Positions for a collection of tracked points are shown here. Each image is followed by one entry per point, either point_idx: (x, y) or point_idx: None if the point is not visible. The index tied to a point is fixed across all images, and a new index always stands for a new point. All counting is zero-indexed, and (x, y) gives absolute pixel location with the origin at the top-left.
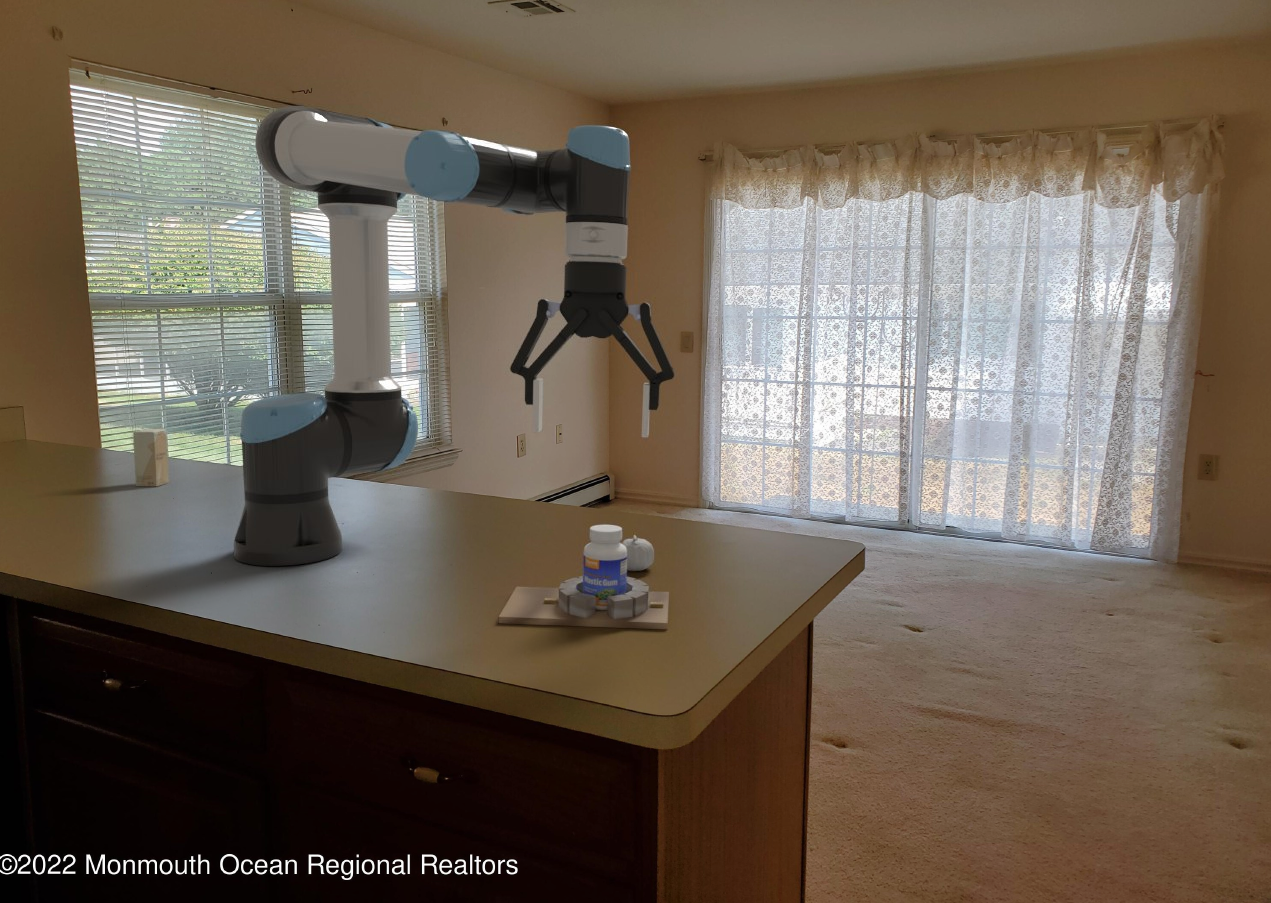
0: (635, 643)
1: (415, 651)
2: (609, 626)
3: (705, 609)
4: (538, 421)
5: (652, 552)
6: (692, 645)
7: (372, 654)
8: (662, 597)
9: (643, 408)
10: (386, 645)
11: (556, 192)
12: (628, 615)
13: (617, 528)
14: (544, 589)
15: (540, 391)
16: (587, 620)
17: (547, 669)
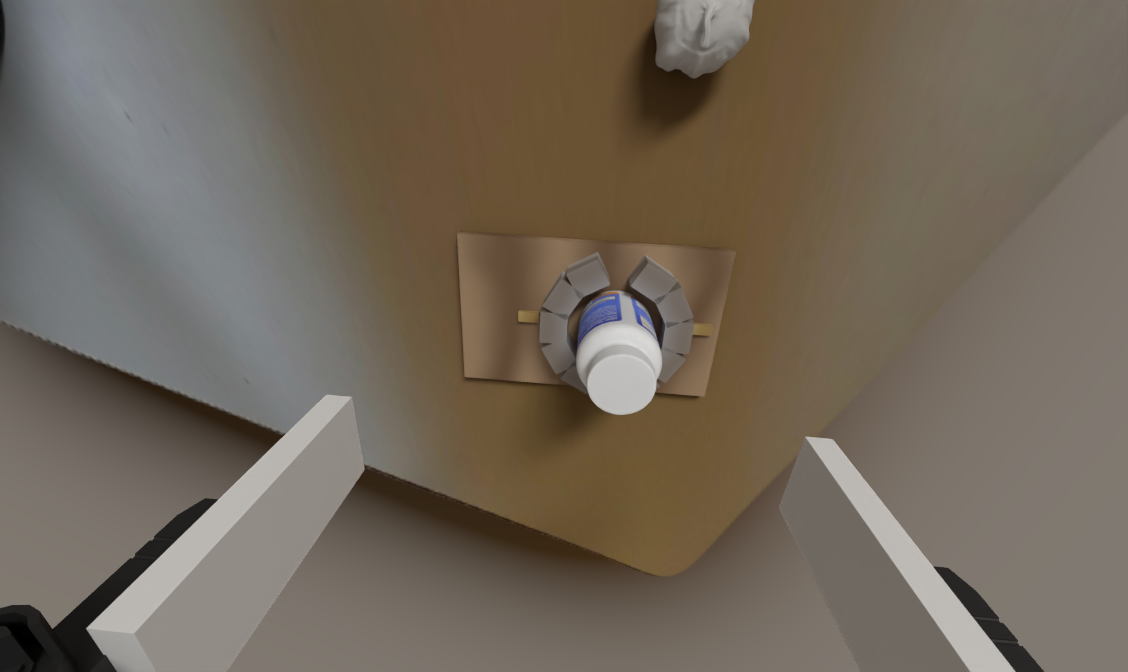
0: (652, 434)
1: (398, 455)
2: None
3: (784, 306)
4: (339, 503)
5: (744, 44)
6: (726, 440)
7: None
8: (717, 284)
9: (844, 629)
10: (359, 440)
11: None
12: None
13: (646, 388)
14: (508, 248)
15: (236, 611)
16: None
17: (551, 497)
